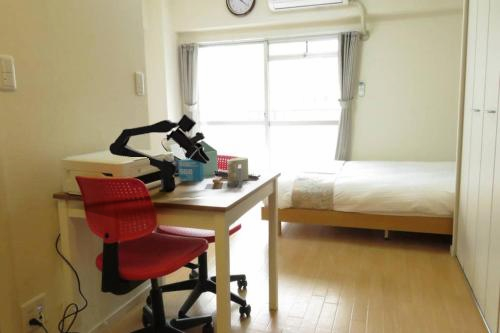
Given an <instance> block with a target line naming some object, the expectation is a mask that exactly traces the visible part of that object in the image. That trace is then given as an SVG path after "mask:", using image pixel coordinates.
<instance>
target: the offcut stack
mask: <svg viewBox="0 0 500 333" xmlns="http://www.w3.org/2000/svg"><path fill="white" fill-rule="evenodd" d="M223 183H224V181H223V176H215V177H214V178H213V179H212V184H213V188H222V185H223ZM222 189H223V188H222Z"/></svg>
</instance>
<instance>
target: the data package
mask: <svg viewBox="0 0 500 333" xmlns="http://www.w3.org/2000/svg"><path fill="white" fill-rule="evenodd" d="M177 164H178V178H179V182H180V183H181V182H203V181H204V180H205V177H204V172H203V163H201V162H198V161H194V160H190V158H189V159H188V158H183V159H180V160H179V161H178V162H177Z"/></svg>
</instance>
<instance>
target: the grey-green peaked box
mask: <svg viewBox="0 0 500 333" xmlns="http://www.w3.org/2000/svg"><path fill="white" fill-rule="evenodd" d="M199 142H200V143H201V144H203V145H202V146H203V151H204V152H205V154H206V155H207V156H208V158H209V159H210V160H209V161H207V163H206V164H204V163H203V172H204V178H206V177H211V176H216V175H215V173H214V171H218V172H219V163H218V162H219V161H218V151H217V149H216V148H214V147H213V146H211V145H209V144H208V143H207V142H206V141H205V140H204V139H203V140H200V141H199ZM202 146H201V147H202ZM191 157H192V156H191ZM191 157H190V158H191ZM190 158H189V159H190Z"/></svg>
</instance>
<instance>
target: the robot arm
mask: <svg viewBox="0 0 500 333" xmlns="http://www.w3.org/2000/svg"><path fill="white" fill-rule="evenodd" d="M196 124H197V122H196V121H195V120H194V119H193V118H192V117H190V116H189V115H188V114H186V113H185V114H183V115H182V117H181V119H179V121H178V122H177V121H175V122H172V121H171V120H170V119H164V120H160V121H157V122H154V123H152V124H148V125H144V126H138V127H132V128H125V129H122V131H121V133H120V134H119V135H118V137H117V138H116V139H115V141H114V142H112V143H111V144H110V145H109V146H108V147H109V153H110V154H112V155H113V156H117V157H118V156H119V157H126V158H127V157H128V158H130V157H147V158H149V160H150V165H149V166H152V167H155V168H157V169H158V170H159V171H161V173H160V174H158V175H159V178H160V183H161V184H160V185H161V188H159V189H158V190H159V191H162V192H167V193H168V192H172V191H174V190H176V180H175V176H174V175H175V173H176V172H178V171H179V167H178V162H176V161H175V160H174V159H171V158H169V157H167V156H166V157H164V158H163V159H161V158H158V157H157V156H156V157H155V156H153V155H151V154H148V153H144V152H142V151H140V150H137V149H134V148H132V147H131V146H129V144H128V143H129V141H130V139H131V138H132V137H134V136H141V135H146V134H153V133H157V134H158V133H159V134H163V133H164V134H166V141H170V140H172V141H173V142H175V143H176V144H177V145H178V146H179V148H182V149H183V150H184V151H185V153H184V156H185V158H186V159H190V160H194V161H198V162H201V163H204V164H206V163H207V161H209V160H210V159H209V158H208V156H207V155H206V154H205V152H204V151H203V150H204V148H203V146H202V145H203V144H201V143H200V142H201V141H202V140H203V141H204V139H206V137H205V136H204V133H203V132H200V131H197V132H195V135H194V136H192V137H191V136H189V135H187V134H186V133H189V132H191V130H192V129H193V128H195V126H196ZM174 129H175V130H174ZM169 132H170V133H169ZM167 133H169V134H167ZM201 146H202V147H201ZM152 156H153V157H152ZM191 156H192V157H191ZM190 157H191V158H190Z"/></svg>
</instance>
